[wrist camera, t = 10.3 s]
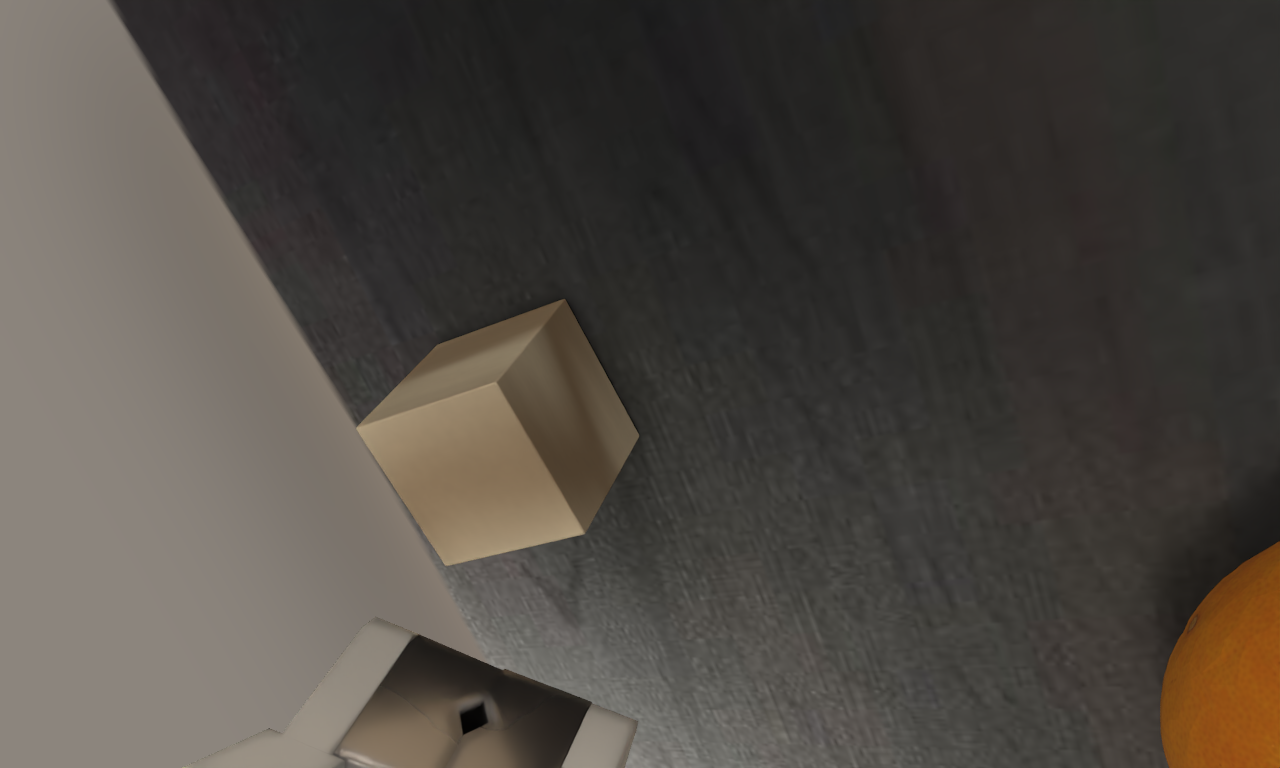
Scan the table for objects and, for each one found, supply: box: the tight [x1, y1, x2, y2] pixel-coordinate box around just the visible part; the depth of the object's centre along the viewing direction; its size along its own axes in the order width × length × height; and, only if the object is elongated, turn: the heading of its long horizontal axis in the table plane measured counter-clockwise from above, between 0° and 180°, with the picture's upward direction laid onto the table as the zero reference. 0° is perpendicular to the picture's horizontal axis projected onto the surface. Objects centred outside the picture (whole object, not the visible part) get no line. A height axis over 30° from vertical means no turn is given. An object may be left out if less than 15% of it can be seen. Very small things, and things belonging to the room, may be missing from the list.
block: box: [356, 299, 639, 566], centre depth 27 cm, size 4×4×4 cm
